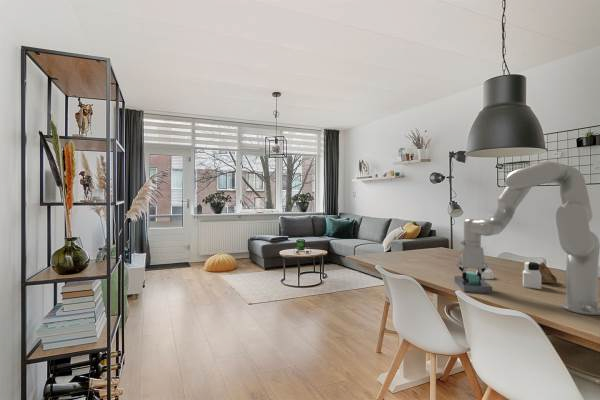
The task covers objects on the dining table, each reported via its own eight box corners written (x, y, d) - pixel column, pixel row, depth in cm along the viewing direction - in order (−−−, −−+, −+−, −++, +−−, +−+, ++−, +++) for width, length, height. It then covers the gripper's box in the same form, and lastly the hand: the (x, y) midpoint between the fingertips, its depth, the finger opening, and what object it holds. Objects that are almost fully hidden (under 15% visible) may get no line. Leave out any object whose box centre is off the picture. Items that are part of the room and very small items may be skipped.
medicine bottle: (539, 286, 166) (539, 262, 166) (541, 289, 160) (541, 264, 160) (522, 284, 170) (522, 260, 170) (523, 287, 164) (523, 263, 164)
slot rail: (479, 282, 172) (479, 276, 172) (492, 293, 153) (492, 287, 153) (454, 281, 175) (454, 275, 175) (463, 291, 156) (463, 285, 156)
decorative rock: (533, 283, 171) (534, 262, 171) (527, 280, 177) (527, 260, 177) (558, 284, 170) (559, 263, 170) (551, 281, 176) (551, 260, 176)
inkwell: (496, 279, 179) (496, 261, 179) (459, 277, 184) (459, 259, 184) (491, 275, 188) (492, 258, 188) (456, 273, 193) (457, 256, 193)
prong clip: (472, 284, 169) (473, 271, 169) (479, 290, 159) (479, 276, 158) (464, 283, 170) (464, 271, 170) (469, 289, 159) (470, 276, 159)
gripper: (455, 244, 162) (454, 281, 163) (493, 246, 158) (493, 284, 159) (451, 242, 170) (451, 277, 170) (488, 243, 166) (488, 280, 166)
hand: (471, 280), depth 164 cm, fingers open, 5 cm apart
